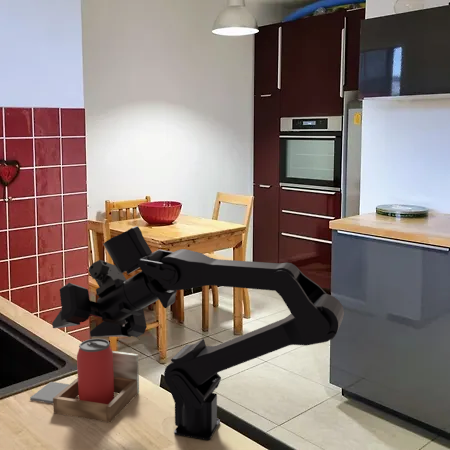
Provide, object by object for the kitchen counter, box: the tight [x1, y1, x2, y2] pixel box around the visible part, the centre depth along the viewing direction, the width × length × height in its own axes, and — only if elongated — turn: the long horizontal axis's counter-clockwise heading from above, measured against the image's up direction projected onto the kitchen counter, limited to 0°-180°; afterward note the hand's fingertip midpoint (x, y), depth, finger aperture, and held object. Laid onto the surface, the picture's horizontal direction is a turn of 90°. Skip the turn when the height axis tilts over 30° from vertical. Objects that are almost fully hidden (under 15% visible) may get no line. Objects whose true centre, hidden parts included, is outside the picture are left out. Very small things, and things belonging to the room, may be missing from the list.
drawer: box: [52, 350, 140, 424], centre depth 110 cm, size 12×12×8 cm
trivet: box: [29, 381, 70, 404], centre depth 114 cm, size 6×7×1 cm
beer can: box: [76, 338, 115, 404], centre depth 109 cm, size 7×7×12 cm
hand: (72, 330), depth 106 cm, fingers open, 9 cm apart
